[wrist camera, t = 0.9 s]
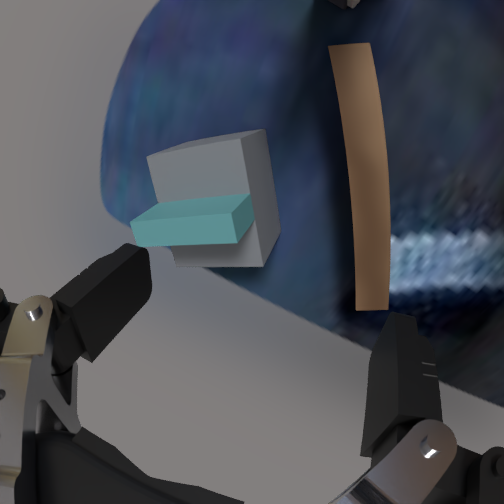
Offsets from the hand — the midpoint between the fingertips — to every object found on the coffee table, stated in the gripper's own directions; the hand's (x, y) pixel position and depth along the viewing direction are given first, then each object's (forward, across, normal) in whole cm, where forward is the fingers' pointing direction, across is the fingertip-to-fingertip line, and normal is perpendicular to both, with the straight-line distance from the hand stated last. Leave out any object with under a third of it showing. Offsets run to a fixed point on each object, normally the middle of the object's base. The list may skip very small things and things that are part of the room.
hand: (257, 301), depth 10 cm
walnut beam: (+20, -4, 0) cm, 21 cm away
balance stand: (+20, +8, +4) cm, 22 cm away
